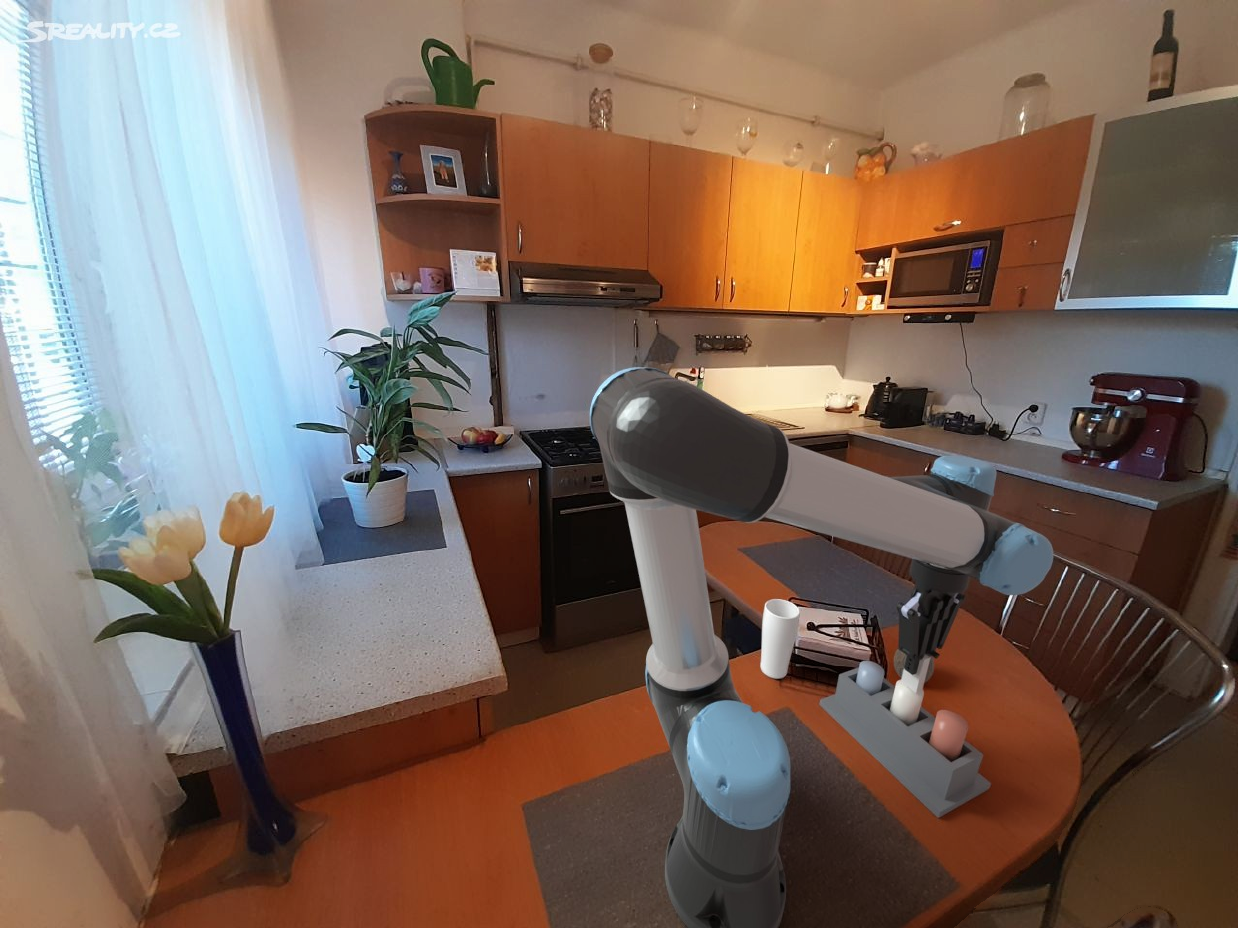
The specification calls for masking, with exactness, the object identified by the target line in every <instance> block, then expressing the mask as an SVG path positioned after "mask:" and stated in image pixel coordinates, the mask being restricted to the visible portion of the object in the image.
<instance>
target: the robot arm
mask: <svg viewBox="0 0 1238 928" xmlns="http://www.w3.org/2000/svg"><path fill="white" fill-rule="evenodd" d="M589 409H590V410H589V426H590V430H591V433H592V435H593V437H594V439H595V440H596V441H597V443H598V444H599V445H598V446H599V449H600V454H601V458H602V463H603V468H604V472H605V476H606V480H607V485H608V490H609V493H610V495H612V497H614V498H616V499H617V500H620V501H622V502H623V503H624V507H625V511H626V516H627V522H628V526H629V532H630V537H631V542H632V547H633V551H634V557H635V561H636V566H637V572H638V575H639V576H638V578H639V582H640V587H641V592H642V596H643V597H642V598H643V600H644V601H643V602H644V606H645V611H646V617H647V621H648V625H649V626H648V627H649V631H650V635H651V636H650V638H651V641H652V644H651V645H650V647H649V649H648V650H647V654H646V659H645V664H646V665H645V675H644V676H645V684H646V685H645V686H646V690H647V694H648V697H649V699H650V702H651V703H652V705H653V708H654V709H655V713H656V715H657V717H658V720H659V723H660V726H661V728H662V731H663V734H664V736H665V738H666V741H667V744H668V747H669V749H670V752H671V755H672V758H673V761H674V764H675V766H676V769H677V772H678V773H679V777H680V780H681V782H682V787H683V792H684V795H683V796H684V797H683V798H684V799H683V811H682V816H681V818H680V819H679V821H678V823H677V824H676V826H675V828H674V829H673V831H672V832H671V835H670V837H669V839H668V843H667V847H666V852H665V859H664V860H665V861H664V879H665V886H666V890H667V893H668V897H669V899H670V902H671V904H672V906H673V908H674V910H675V912H676V914H677V915H678V917H679V919H680V920H681V921H682V923H683V924H684V926H685V927H687V928H779V926H780V924H781V921H782V918H783V913H784V911H785V910H784V909H785V906H786V905H785V904H786V897H787V881H786V874H785V870H784V867H783V862H782V859H781V855H780V851H779V846H780V842H781V836H782V831H783V825H784V820H785V815H786V811H787V804H788V801H789V797H790V793H791V787H792V786H791V759H790V754H789V753H790V752H789V749H788V746H787V743H786V741H785V739H784V737H783V735H782V733H781V732H780V730H779V728H778V727H777V726H776V725H775V724H774V723H773V721H771V720H770V718H769V717H768V716H767V715H766V714H765V713H763V712H761V711H757V712H756V711H754V710H753V707H752V706H751V705H749V704H747V703H744V702H743V700H742V698H741V697H740V696H739V694H738V692H737V690H736V688H735V686H734V682H733V680H732V679H733V678H732V672H731V665H730V658H729V652H728V648H727V646H726V644H725V643H724V642H723V641H722V639H721V638H720V637H718V636H717V635H716V634H715V631H714V624H713V619H712V618H713V617H712V610H711V603H710V597H709V590H708V584H707V583H708V582H707V577H706V569H705V562H704V555H703V550H702V542H701V536H700V535H701V534H700V529H699V521H698V515H697V511H700V512H703V513H708V514H712V515H715V516H719V517H722V518H726V519H730V520H734V521H738V522H740V523H741V522H742V523H746V524H752V523H757V522H758V521H761V520H762V519H764V518H767V519H771V520H773V521H778V522H780V523H781V522H782V523H783V524H787V525H792V526H795V527H798V528H802V529H806V530H810V531H812V532H813V531H814V532H817V533H820V534H823V535H827V536H831V537H835V538H837V539H840V540H841V539H842V540H845V541H849V542H853V543H856V544H859V545H862V546H863V545H864V546H866V547H867V546H868V547H870V548H874V549H877V550H880V551H884V552H888V553H891V554H895V555H898V556H902V557H906V558H909V559H911V564H910V568H909V575H910V577H911V578H912V581H913V582H914V587H913V589H912V590H911V593H910V600H909V601H908V602H907V603H906V604H905V603H903V602H899V603H898V604H897V605H896V610H897V612H898V616H899V617H898V646H897V649H899V650H900V651H901V652H903V653H904V654H906V655H907V657H906V662H905V666H904V670H903V674H902V678H900V680H901V682H902V683H903V684H904V685H906V686H907V687H908V688H910V689H911V690H912V691H914V692H915V693H917V692H920V691H922V689H923V690H924V685H925V683H924V681H925V677H926V673H927V669H928V665H929V661H930V658H931V657H930V656H932V657H933V659H938V658H939V657H940V656H941V655H940V653H938V652H937V650H942V649H943V648H944V645H945V643H946V640H947V638H948V635H949V633H950V631H951V629H952V627H953V624H954V622H955V619H956V616H957V615H958V612H959V610H960V608H961V606H962V605H963V604H964V602H965V600H966V598H967V595H966V594H964V592H965V591H966V590H967V589H968V588H969V587H968V586H969V584H970V580H971V578H973V579H974V580H976V581H978V582H979V583H980V584H981V585H983V587H988V588H990V589H993V590H994V591H997V592H999V593H1001V594H1003V595H1007V596H1020V595H1024V594H1027V593H1028V592H1030V591H1032V590H1033V589H1035V588H1036V587H1038V586H1039V585H1040V584H1041V583H1043V580H1044V579H1045V578H1046V576H1047V574H1048V573H1049V571H1050V570H1051V569H1052V566H1053V561H1054V549H1053V546H1052V543H1051V542H1050V540H1049V539H1048V538H1047V537H1046V536H1044V535H1043V534H1042V533H1039V532H1037V531H1035V530H1033V529H1030V528H1028V527H1027V526H1025V525H1024V524H1023V523H1018V522H1015V521H1013V520H1010V519H1008V518H1005V517H1004V516H1000V515H999V514H996V513H994V512H990V511H989V509H990V505H991V501H992V498H993V497H994V496H995V493H994V489H995V485H996V480H997V470H996V468H995V467H994V465H992V464H991V463H990V462H986V461H984V460H981V459H976V458H973V457H967V456H961V455H960V456H959V455H942V456H940V457H938V458H936V459H935V460H934V463H933V464H932V468H931V469H930V473H926V474H921V475H905V476H904V475H903V476H901V475H900V476H885V475H883V474H882V475H881V474H880V473H876V472H873V471H871V470H868V469H864V468H862V467H859V466H857V465H853V464H850V463H847V462H845V461H842V460H839V459H837V458H834V457H832V456H831V457H830V456H827V455H825V454H821V453H818V452H816V451H813V450H811V449H808V448H805V447H802V446H798V445H796V444H793V443H791V442H790V441H789V438H788V436H787V435H786V433H785V432H784V431H783V430H782V429H780V428H779V427H778V426H774V425H771V424H770V423H766V422H764V421H761V420H758V419H756V418H754V417H751V416H749V415H748V414H746V413H744V412H742V411H740V410H738V409H736V408H734V407H733V406H730V405H729V404H727V403H726V402H723V401H722V400H721V399H719V398H717V397H715V396H714V395H712V394H710V393H709V392H707V391H705V390H703V389H702V388H701V387H699V386H697V385H695V384H692V383H690V382H687V381H685V380H681V379H678V378H676V377H674V376H672V375H671V374H669V373H667V372H666V371H664V370H662V369H658V368H654V367H649V366H645V367H641V366H640V367H637V366H635V367H629V368H623V369H622V370H619V371H616V372H615V373H612V375H610V376H609V377H607V378H606V379H605V380H604V382H602V383H601V384H600V386H599V387H598V389H597V390H596V392H595V393H594V396H593V397H592V401H591V404H590V407H589Z"/></svg>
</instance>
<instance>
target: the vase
mask: <svg viewBox="0 0 1238 928" xmlns="http://www.w3.org/2000/svg"><path fill="white" fill-rule="evenodd" d="M906 657H907V655H906V654H904V653H903V652H901V651H900V650H899V649H898V648H897V649H896V650H895V653H894V656H893V666H894V667H893V668H894V670H895V672H896V674H897V676H899V677H900V679H902V674H903V670H904V666H905V662H906ZM930 657H931V658H930V661H929V665H928V669H927V673H926V677H925V681H924V684H925V683H927V682H928V681H929V680H930V679H931V677H932V676H933V674H934V671H935V661H934V657H932V656H930Z"/></svg>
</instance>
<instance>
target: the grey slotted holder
mask: <svg viewBox="0 0 1238 928" xmlns="http://www.w3.org/2000/svg"><path fill="white" fill-rule="evenodd" d="M858 670H859V667H856V668H853V669H851V670H848V671H845V672H842V673H840V674H838V679H837V685H836V687H835V690H836V691H835V693H834V694H832V695H829V696H826V697H824V698H821V699H819V706H820V707H821V708H822V709H823V710H824V711H825V712H826V713H827V714H828V715H829V716H830V717H831V718H833V719H834V720H835V721H836V722H837V723H838V724H839V725H840V726H841V727H842V728H843V729H844V730H845V731H846V732H847V733H848V734H849V735H850V736H851V737H852V738H853V739H854V740H856V742H857V743H858V744H859V745H861V746H862V747H863V749H865V750H866V751H867V752H868V753H869V755H871V756H873V757H874V759H876V760H877V761H878V762H879V763H880V764H881V765H882V766H883V767H884V768H885V769H886V770H887V771H888V772H889V773H890V774H891V775H892V776H893V777H894V778H895V779H896V780H898V781H899V783H900V784H902V786H903V787H905V788H906V789H907V790H908V791H909V792H910V793H911V794H912V795H913V796H914V797H915V798H917V800H918V801H919V802H921V803H922V805H924V806H925V807H926V808H927V809H928V810H929V811H930V812H931V813H932V814H933V815H934V816H936V818H938V819H939V818H941V817H944V815H946V814H948V813H950V812H952V811H954V810H955V809H957V808H959V807H960V806H962V805H963V804H966V803H967V802H968V801H971V800H972V799H975V797H978V796H980V795H981V794H983V793H985V792H986V791H988V790H989V789H990V787H991V785H992V783H991V782H990V781H989V780H988V779H986V777H984V776H983V775H981V774H980V773H979V769H980V766H981V763H982V760H983V758H984V754H983V753H982V752H981V751H980V750H978V749H977V748H975V747H974V745H972V744H971V743H969V742H968V741H966V740H964V743H963V746H962V749H961V753H960V756H959V759H957V760H955V761H953V762H950V761H949V760H948V759H946V758H945V757H944V756H943V755H942V754H940V753H939V752H938V751H937V750H935V749H934V748H933V747H932V746H931V745H929V741H930V737H931V733H932V730H933V726H934V723H935V719H936V717H935V716H934V715H933V714H932V713H931V712H929V711H928V710H927V709H925V708H924V707H922V706H921V707H920V711H919V715H918V719H917V722H916V723H915V724H912V725H910V726H907V725H905V724H904V723H903V722H902V721H901V720H899V719H898V718H897V717H896V716H895V715H893V714H892V713H891V712H890V707H891V703H892V699H893V694H894V690H895V686H896V685H894V684H892V683H891V682H890V681H889V680H887V679H886V678H885V677H883V682H882V686H881V690H880V692H879V693H877V694H874V695H872V696H870V695H869V694H868V693H867V692H866V691H864V690H863V689H862V688H861V687H860V686H858V685H857V684H856V680H857V675H858Z"/></svg>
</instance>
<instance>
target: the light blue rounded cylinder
mask: <svg viewBox="0 0 1238 928" xmlns="http://www.w3.org/2000/svg"><path fill="white" fill-rule="evenodd" d="M884 676H885V670H884V668H883V667H882V666H881V665H879V663H876V662H874V661H870V660H863V661H861V662H860V663H859V670H858V675H857V680H856V684H857V685H858V686H860V687H861V688H862V689H863V690H864V691H866V692H867V693H868V694H869V695H870V696H872V695H874V694H877V693H879V692H880V690H881V686H882V682H883V678H885V677H884Z"/></svg>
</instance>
